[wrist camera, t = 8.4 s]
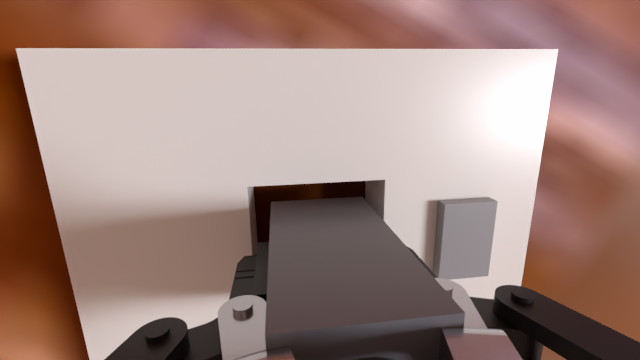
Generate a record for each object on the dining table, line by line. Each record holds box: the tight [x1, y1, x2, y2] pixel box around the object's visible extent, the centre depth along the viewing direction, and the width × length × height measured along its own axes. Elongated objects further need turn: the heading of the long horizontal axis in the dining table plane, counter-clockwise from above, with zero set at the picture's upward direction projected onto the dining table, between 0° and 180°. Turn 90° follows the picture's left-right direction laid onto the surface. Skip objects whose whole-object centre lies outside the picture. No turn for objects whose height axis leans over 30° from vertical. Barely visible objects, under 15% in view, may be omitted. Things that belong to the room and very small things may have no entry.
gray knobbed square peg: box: [265, 197, 465, 360], centre depth 10 cm, size 4×4×10 cm
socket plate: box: [16, 48, 558, 360], centre depth 15 cm, size 20×16×4 cm
